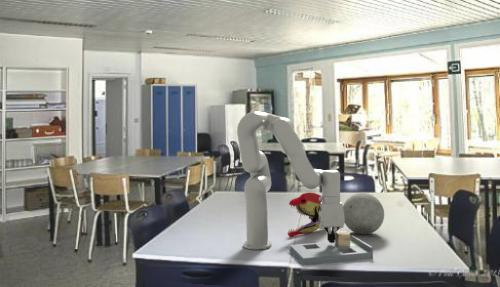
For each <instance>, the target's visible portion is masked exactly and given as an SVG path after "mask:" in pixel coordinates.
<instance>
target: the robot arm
mask: <svg viewBox="0 0 500 287" xmlns="http://www.w3.org/2000/svg"><path fill="white" fill-rule="evenodd" d="M257 131H261V132H266V133H270V134H271V135H273V136H274V137H275V139H276V141H277V143H278V144H279V146H280V147H281V149H282V150H283V153H285V155H286V157H287V160H288V162H289V164H290V165H291V168H292V170H293V172H294V173H295V175H296V176H297V178H298V179H299V182H301V184H302V185H303V187H304V188H306V189H309V190H315V189H316V188H318V187H319V186H321V196H322V197H319V200H321V201H322V202H321V204H320V210H319V224H320V225H319V228H318V230H322V231H325V232H326V233H327V234H326V236H327V238H326V239H327V242H330V243H335V233H336V232H337V231H339V230H341V229H344V226H345V223H344V222H345V221H344V210H343V205H344V203H343V202H341V173H340V171H339V170H337V169H326V170H323V169H317V168H314V167H313V166H312V163H311V162H310V160H309V158H308V156H307V153H306V149H305V146H304V143H303V142H302V140H301V139H300V138H299V136H298V134H297V133H296V131H295V129H294V124H293V121H292V120H291V119H290V118H288V117H282V116H279V115H276V114H272V113H267V112H263V111H250V112H248V113H246V114H245V115H243V117H242V118H241V119H240V120H239V121H238V125H237V130H236V134H237V140H238V145H239V154H240V158H241V164H242V165H241V166H242V168H243V170H244V171H245V172H247V173H249V176H250V177H248V178H247V180H246V182H245V183H244V197H245V198H244V199H245V215H246V217H245V218H246V222H245V223H246V224H245V225H246V226H245V227H246V241H244V242H243V247H244V248H246V249H249V250H251V251H253V250H254V251H257V250H258V251H260V250H266V249H269V248H271V247H272V241H269V226H268V199H267V193H268V191H270V190H271V187H272V176H271V172H270V166H269V161H268V158H267V156H266V155H265V154H266V153H264V152H263V151H261V150H260V147H259V146H260V145H259V140H258V137H257Z"/></svg>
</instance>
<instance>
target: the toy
mask: <svg viewBox="0 0 500 287" xmlns="http://www.w3.org/2000/svg"><path fill="white" fill-rule="evenodd" d="M319 197H322V195H320V194H318V193H316V192H304V193H301V194H300V196H298V197H295V198H293V199H291V200H290V201H289V203H288V205H289V206H290V207H291V208H295V209H296V210H297V211H296V213H297V214H299V215H301V216H304V217H305V216H306V217H308V219H309V220H310V222H308V223H306V224H301V225H300V227H297V228H296V229H293V228H289V230H287V235H288V237H289V238H293V237H296V236H299V235H305V234H310V233H313V232H315V231H317V230H319V225H320V224H319V210H320V204H321V202H322V201H321V200H319Z"/></svg>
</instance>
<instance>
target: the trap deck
mask: <svg viewBox="0 0 500 287" xmlns="http://www.w3.org/2000/svg"><path fill="white" fill-rule="evenodd" d="M289 251H290V252H291V254H292V255H294V256H295V258H297V259H298V261H299V262H301V264H302V265H314V264H325V262H328V263H336V262H337V263H338V262H348V261H357V260H358V261H360V260H369V259H373V258H374V254H373V253H374V247H373V246H372V245H370V244H368V243H366V242H364V241H363V240H361V239H360V238H358V237H356V236H354V235H350V246H338V245H337V244H336V243H330V242H329V241H324V242H322V241H321V242H313V243H309V242H308V243H299V244H298V243H297V244H290V245H289Z"/></svg>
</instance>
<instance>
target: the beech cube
mask: <svg viewBox="0 0 500 287" xmlns="http://www.w3.org/2000/svg"><path fill="white" fill-rule="evenodd" d="M350 240H351V233H350V232H348V230H340V231H339V230H338V231H337V232H336V233H335V243H336V244H337V245H338V246H350Z"/></svg>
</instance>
